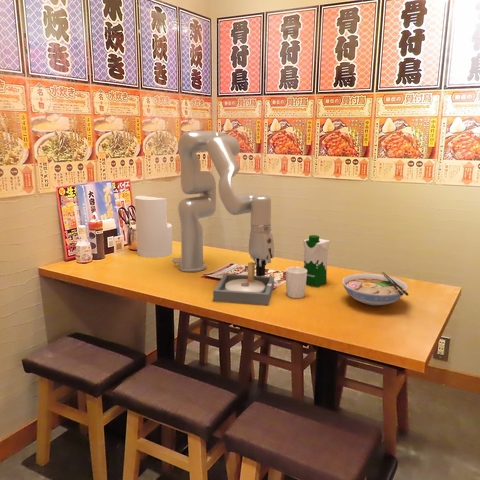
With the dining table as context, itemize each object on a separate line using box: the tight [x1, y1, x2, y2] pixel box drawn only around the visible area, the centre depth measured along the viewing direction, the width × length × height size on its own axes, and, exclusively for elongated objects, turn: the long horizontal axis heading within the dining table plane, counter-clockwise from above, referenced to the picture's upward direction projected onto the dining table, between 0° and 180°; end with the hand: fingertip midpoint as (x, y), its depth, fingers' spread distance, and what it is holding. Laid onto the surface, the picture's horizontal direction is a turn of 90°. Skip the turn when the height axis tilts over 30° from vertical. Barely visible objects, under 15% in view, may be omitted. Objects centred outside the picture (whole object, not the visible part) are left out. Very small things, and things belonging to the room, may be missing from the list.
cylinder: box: [134, 195, 173, 259], centre depth 224 cm, size 17×17×28 cm
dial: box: [225, 261, 265, 293], centre depth 172 cm, size 15×15×9 cm
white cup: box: [285, 266, 307, 299], centre depth 171 cm, size 8×8×10 cm
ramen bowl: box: [342, 271, 409, 307], centre depth 165 cm, size 25×23×8 cm
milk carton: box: [303, 234, 331, 288], centre depth 183 cm, size 9×9×20 cm
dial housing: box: [212, 273, 275, 306], centre depth 173 cm, size 20×20×4 cm
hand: (260, 275), depth 175 cm, fingers closed
